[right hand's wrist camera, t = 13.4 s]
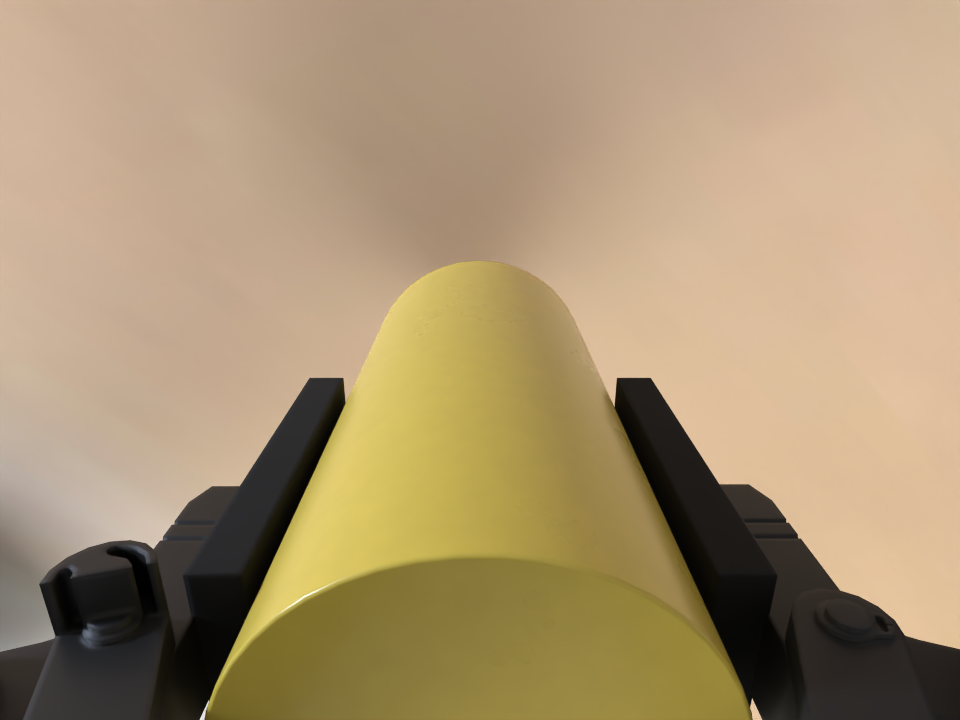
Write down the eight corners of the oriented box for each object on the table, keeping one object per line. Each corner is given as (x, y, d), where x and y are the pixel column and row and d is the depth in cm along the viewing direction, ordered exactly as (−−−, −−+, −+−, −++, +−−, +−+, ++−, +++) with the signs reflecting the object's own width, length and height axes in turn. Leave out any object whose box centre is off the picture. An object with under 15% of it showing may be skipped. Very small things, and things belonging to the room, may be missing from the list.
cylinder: (389, 456, 20) (257, 953, 8) (364, 266, 18) (135, 571, 6) (581, 446, 20) (733, 936, 8) (581, 254, 18) (787, 538, 6)
